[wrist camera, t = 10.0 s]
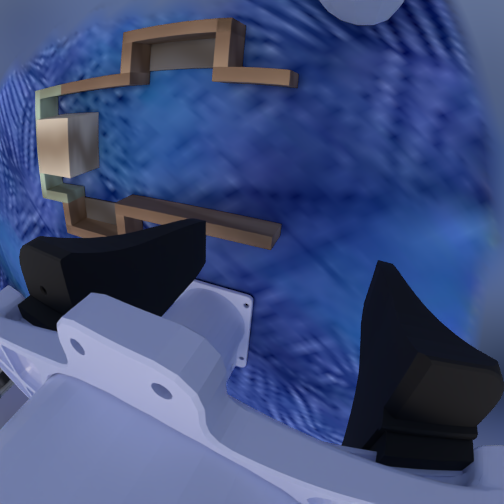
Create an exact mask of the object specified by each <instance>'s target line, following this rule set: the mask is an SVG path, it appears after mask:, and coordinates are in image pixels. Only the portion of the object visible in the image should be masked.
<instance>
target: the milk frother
mask: <svg viewBox="0 0 504 504" xmlns="http://www.w3.org/2000/svg"><path fill="white" fill-rule="evenodd" d="M14 384H15V383H14V382H13V381H12V380H11V379H10V378H9V377H8V376H7V375H6V374H5V373H4V371H3V370H2V369H1V368H0V398H1V396H2V395H3V394H4V393H5V392H6V391H7V390H8V389H9V388H11V387H12V385H14Z"/></svg>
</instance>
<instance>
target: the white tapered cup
mask: <svg viewBox="0 0 504 504" xmlns="http://www.w3.org/2000/svg"><path fill="white" fill-rule="evenodd" d="M319 1H320V2H321V3H322V5H323V6H324V7H325V8H326V10H327V11H328V12H330V13H331V14H333V15H334V16H336V17H337V18H338V19H340V20H342V21H345V22H348V23H352V24H355V25H375V24H378V23H381V22H383V21H386V20H388V19H389V18H390V17H391V16H392V15H393V14H394V13H395V12H396V11H397V10H398V8H399V7H400V6H401V4H402V3H403V2H404V0H319Z"/></svg>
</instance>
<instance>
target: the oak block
mask: <svg viewBox="0 0 504 504" xmlns="http://www.w3.org/2000/svg"><path fill="white" fill-rule="evenodd" d="M37 143H38V157H39V169H40V173H44V174H49V175H55V176H61V177H67V178H72V177H75V176H77V175H80V174H83V173H85V172H88V171H91V170H93V169H96V168H99V147H98V112H93V113H71V114H62V115H57V116H52V117H47V118H43V119H39V120H37Z"/></svg>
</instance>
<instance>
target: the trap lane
mask: <svg viewBox="0 0 504 504" xmlns="http://www.w3.org/2000/svg"><path fill="white" fill-rule="evenodd" d="M245 31H246V25H244V24H242V23H240V22H239V21H237V20H235V19H234V18H217V19H204V20H194V21H186V22H178V23H171V24H164V25H158V26H153V27H147V28H142V29H137V30H132V31H128V32H124V34H123V44H122V57H121V74H114V75H108V76H102V77H96V78H90V79H85V80H80V81H75V82H71V83H66V84H62V85H57V86H53V87H49V88H45V89H42V90H38V91H35V110H36V136H37V120H39V119H43V118H47V117H52V116H57V115H58V96H62V95H67V94H73V93H79V92H85V91H92V90H99V89H106V88H115V87H124V86H135V85H148V84H149V80H150V71H158V70H172V69H192V68H213V75H212V81H214V82H223V83H240V84H257V85H271V86H282V87H291V88H297V87H298V77H299V74H297V73H295V72H293V71H291V70H284V69H271V68H253V67H242V65H243V53H244V42H245ZM37 150H38V143H37ZM38 161H39V157H38ZM39 171H40V169H39ZM40 179H41V187H42V194H43V198H47V199H51V200H56V201H60V202H63V208H64V214H65V220H66V226H67V232H68V233H70V234H73V235H76V236H79V237H82V238H93V237H105V236H113V235H120V234H126V233H131V232H135V231H140V230H143V225H142V220H144V221H148V222H152V223H157V224H161V225H163V224H167V223H171V222H175V221H179V220H184V219H190V218H195V219H200V220H204V221H206V235H208V236H213V237H217V238H221V239H226V240H230V241H234V242H238V243H243V244H247V245H251V246H255V247H260V248H264V249H268V250H271V249H272V248H273V246H274V244H275V243H276V241H277V240H278V238H279V237H280V233H281V225H282V224H279V223H275V222H270V221H266V220H261V219H256V218H251V217H247V216H242V215H237V214H232V213H227V212H222V211H217V210H212V209H207V208H202V207H197V206H192V205H186V204H181V203H176V202H170V201H165V200H160V199H154V198H149V197H143V196H138V195H131V196H128V197H126V198H124V199H122V200H120V201H118V202H116V203H115V202H110V201H105V200H99V199H94V198H89V197H85V190H84V186H78V185H72V184H65V183H63V180H62V177H61V176H55V175H49V174H44V173H40Z"/></svg>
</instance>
